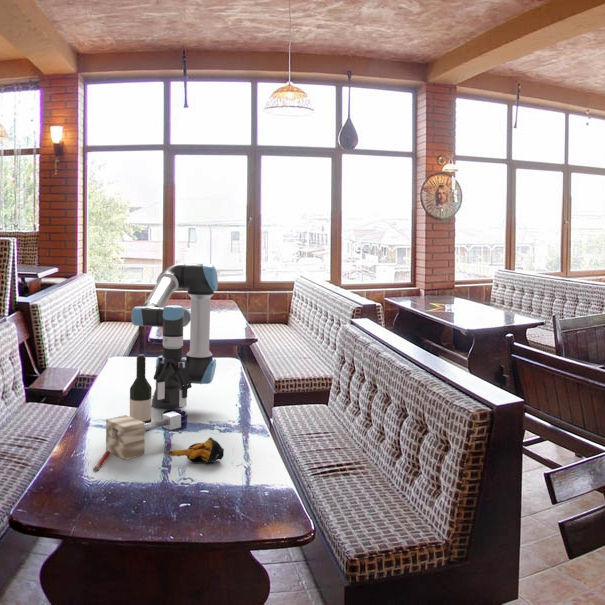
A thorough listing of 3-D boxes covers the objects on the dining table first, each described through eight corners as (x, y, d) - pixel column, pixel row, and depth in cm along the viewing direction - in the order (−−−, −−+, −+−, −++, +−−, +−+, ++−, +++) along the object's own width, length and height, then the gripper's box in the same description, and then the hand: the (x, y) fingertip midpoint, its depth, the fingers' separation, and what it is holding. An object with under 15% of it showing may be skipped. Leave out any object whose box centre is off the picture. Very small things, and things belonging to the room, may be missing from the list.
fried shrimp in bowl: (228, 453, 211) (178, 441, 204) (215, 476, 215) (166, 465, 208) (226, 435, 219) (178, 423, 212) (213, 458, 223) (166, 447, 216)
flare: (93, 471, 203) (93, 466, 203) (105, 455, 218) (105, 450, 218) (98, 471, 203) (98, 466, 203) (110, 455, 218) (110, 450, 218)
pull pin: (113, 438, 220) (114, 425, 219) (172, 424, 239) (173, 411, 238) (121, 442, 216) (121, 428, 216) (180, 427, 235) (181, 414, 235)
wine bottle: (155, 427, 250) (156, 354, 246) (141, 433, 242) (142, 357, 239) (139, 424, 253) (139, 352, 250) (125, 429, 246) (125, 355, 242)
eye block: (106, 450, 222) (106, 419, 221) (127, 445, 228) (127, 414, 227) (124, 459, 214) (124, 427, 213) (146, 453, 220) (146, 422, 219)
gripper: (144, 343, 237) (144, 397, 239) (185, 352, 221) (184, 411, 223) (161, 341, 243) (160, 394, 245) (201, 350, 226) (200, 407, 228)
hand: (171, 402), depth 234 cm, fingers open, 13 cm apart
